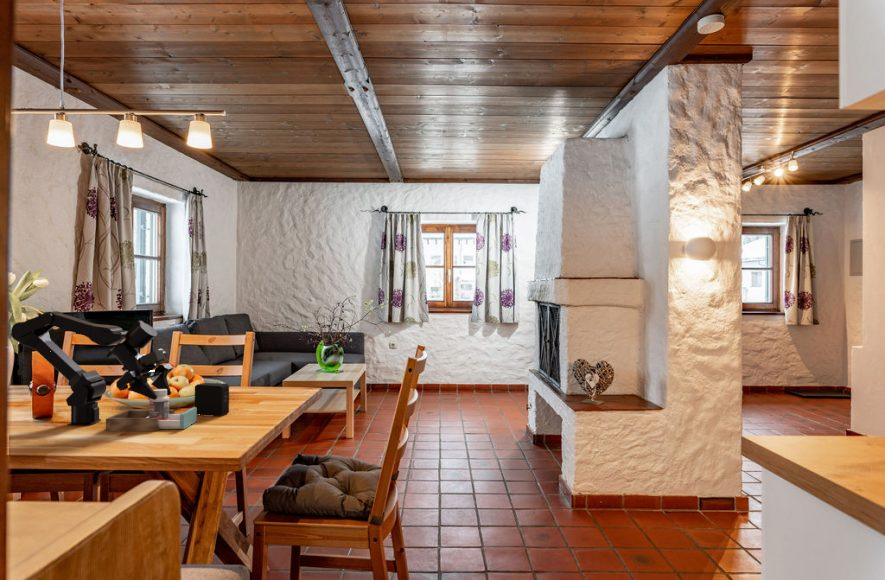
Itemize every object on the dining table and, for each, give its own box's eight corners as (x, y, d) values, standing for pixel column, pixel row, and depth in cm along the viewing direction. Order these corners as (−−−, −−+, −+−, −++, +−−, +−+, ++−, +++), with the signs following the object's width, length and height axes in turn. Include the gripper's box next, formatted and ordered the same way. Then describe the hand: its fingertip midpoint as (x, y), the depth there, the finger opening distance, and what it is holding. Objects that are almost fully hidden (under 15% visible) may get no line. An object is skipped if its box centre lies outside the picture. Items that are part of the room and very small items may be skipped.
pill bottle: (145, 423, 163) (146, 390, 164) (154, 420, 169) (155, 388, 169) (162, 424, 163) (164, 391, 164) (172, 420, 169) (173, 388, 169)
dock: (105, 431, 159) (105, 418, 159) (127, 421, 171) (127, 409, 171) (156, 431, 160) (156, 418, 160) (174, 421, 172) (174, 409, 172)
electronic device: (221, 416, 178) (221, 386, 178) (194, 414, 180) (194, 384, 180) (229, 413, 182) (229, 383, 182) (202, 412, 184) (202, 382, 184)
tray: (138, 429, 161) (138, 414, 161) (153, 421, 170) (153, 407, 170) (184, 429, 162) (184, 414, 162) (196, 421, 171) (196, 407, 171)
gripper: (125, 344, 157) (159, 384, 155) (168, 338, 176) (199, 373, 174) (101, 370, 158) (134, 410, 157) (145, 361, 177) (176, 397, 175)
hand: (163, 396), depth 166 cm, fingers open, 6 cm apart
